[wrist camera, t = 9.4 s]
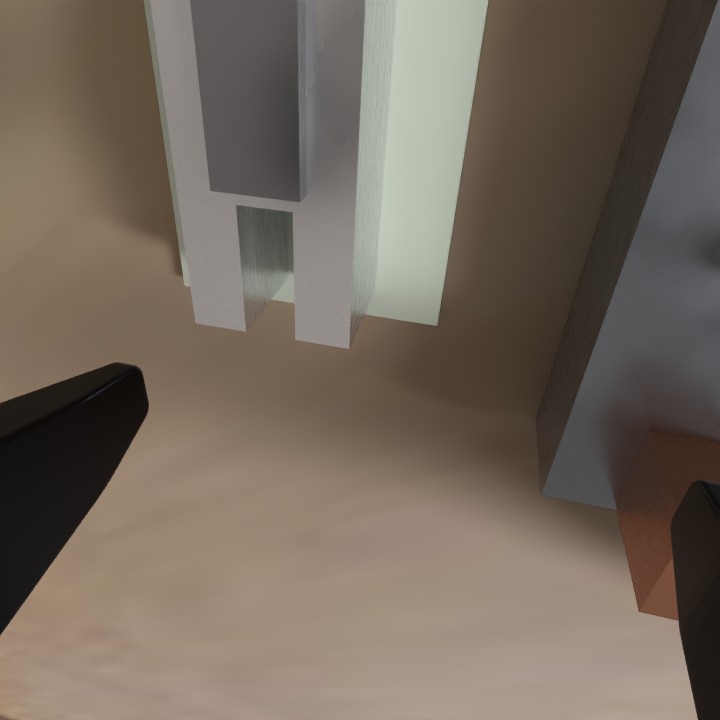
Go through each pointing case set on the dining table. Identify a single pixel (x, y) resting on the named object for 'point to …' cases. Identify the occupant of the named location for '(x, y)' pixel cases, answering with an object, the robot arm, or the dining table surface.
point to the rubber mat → (405, 154)
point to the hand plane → (648, 316)
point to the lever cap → (278, 153)
